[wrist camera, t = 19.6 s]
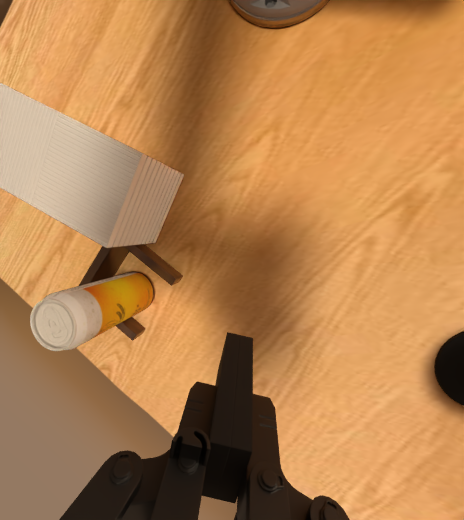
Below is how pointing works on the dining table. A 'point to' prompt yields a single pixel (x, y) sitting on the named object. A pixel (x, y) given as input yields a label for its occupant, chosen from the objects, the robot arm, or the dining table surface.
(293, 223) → the dining table surface
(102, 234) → the stack of papers
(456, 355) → the wine glass
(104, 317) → the beer can
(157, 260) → the brown wooden u-shaped frame
